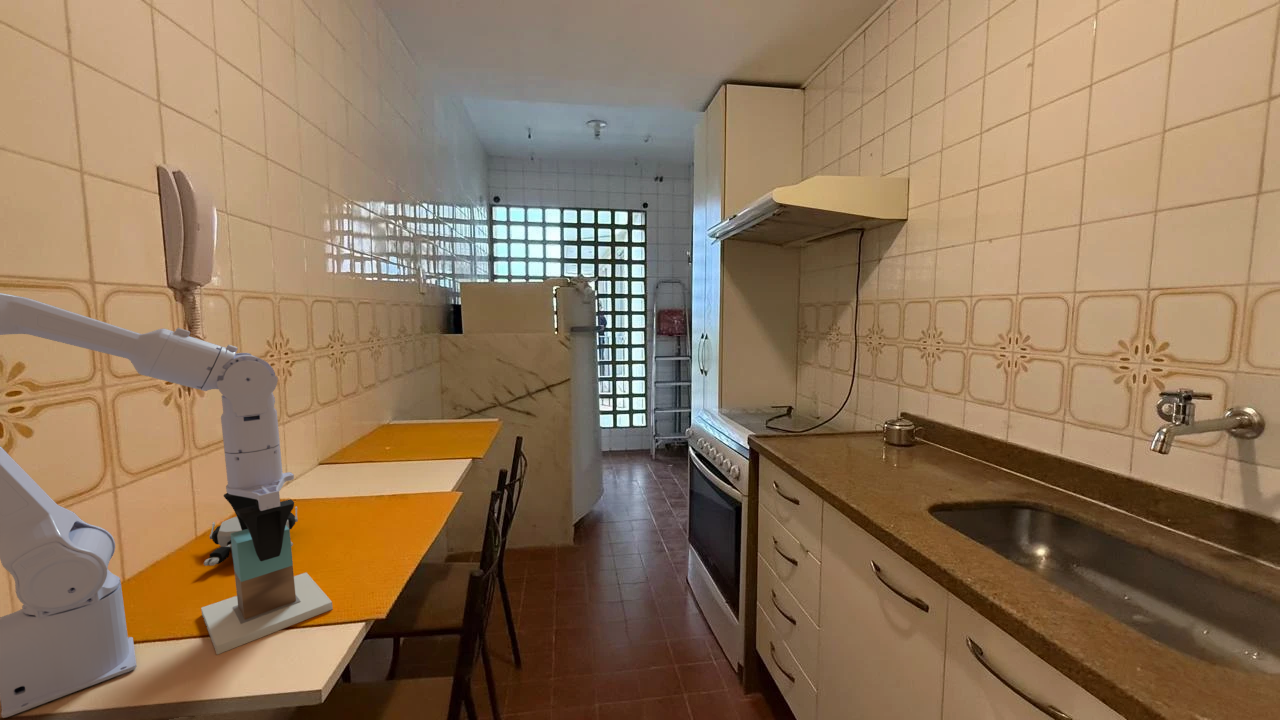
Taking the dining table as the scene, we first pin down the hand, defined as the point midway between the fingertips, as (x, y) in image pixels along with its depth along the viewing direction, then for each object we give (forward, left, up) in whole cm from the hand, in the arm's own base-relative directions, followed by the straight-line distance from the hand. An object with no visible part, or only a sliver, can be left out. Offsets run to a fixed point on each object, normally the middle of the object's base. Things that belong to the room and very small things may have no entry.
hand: (263, 548), depth 67 cm
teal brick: (0, 0, -3) cm, 3 cm away
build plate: (0, 0, -9) cm, 9 cm away
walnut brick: (0, 0, -8) cm, 8 cm away
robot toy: (+3, +25, -9) cm, 26 cm away
